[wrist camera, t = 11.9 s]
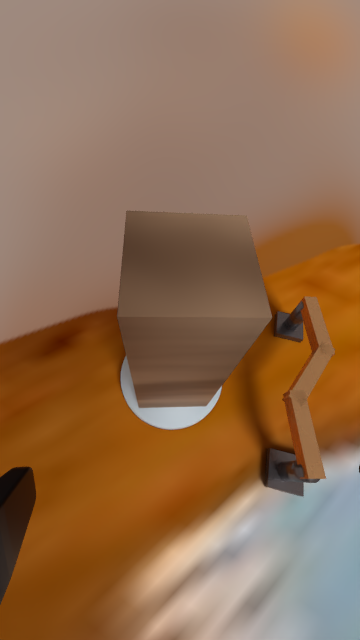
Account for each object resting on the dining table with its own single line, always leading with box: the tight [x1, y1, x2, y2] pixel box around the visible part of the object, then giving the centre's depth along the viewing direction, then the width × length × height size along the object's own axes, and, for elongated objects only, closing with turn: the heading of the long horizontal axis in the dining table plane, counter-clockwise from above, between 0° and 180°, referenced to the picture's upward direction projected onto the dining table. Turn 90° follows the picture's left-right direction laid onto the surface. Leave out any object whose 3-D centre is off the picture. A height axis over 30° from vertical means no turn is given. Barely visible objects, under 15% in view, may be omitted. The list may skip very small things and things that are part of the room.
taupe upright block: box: [117, 211, 272, 408], centre depth 15 cm, size 5×5×13 cm
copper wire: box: [265, 297, 335, 496], centre depth 20 cm, size 14×3×4 cm, turn 166°
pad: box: [121, 356, 222, 430], centre depth 21 cm, size 8×8×1 cm
